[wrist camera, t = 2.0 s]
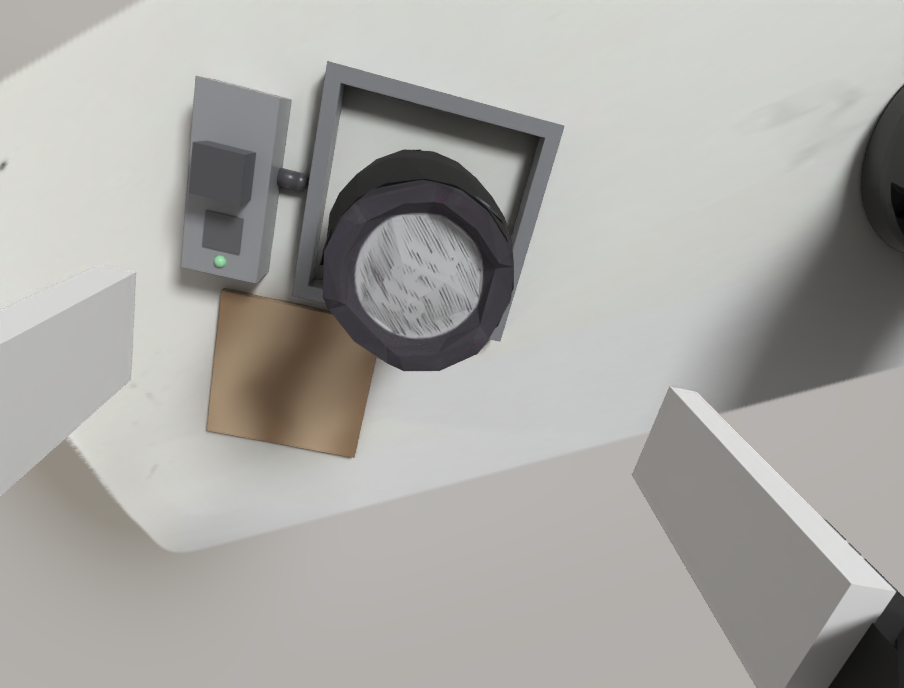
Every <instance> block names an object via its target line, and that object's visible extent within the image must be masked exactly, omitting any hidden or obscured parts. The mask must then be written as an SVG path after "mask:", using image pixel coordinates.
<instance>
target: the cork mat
mask: <svg viewBox="0 0 904 688" xmlns="http://www.w3.org/2000/svg"><path fill="white" fill-rule="evenodd" d="M375 360H376V356H375V355H374V354H372V353H371V352H369V351H368V350H366V349H365V348H363V347H362V346H360V345H358V344H357V343H355V342H354V341H353V340H352V338H351V337H350V336H349V335H348V333H347V332H346V331H345V329H344V328H343V327H342V326H341V324H340V323H339V322H338V321H337V319H336V318H335V317H334V316H333V314H332V313H331V312H330V311H326V310H321V309H317V308H312V307H307V306H303V305H298V304H294V303H289V302H284V301H280V300H275V299H271V298H266V297H261V296H257V295H252V294H247V293H243V292H238V291H234V290H229V289H223V290H222V291H221V299H220V309H219V318H218V328H217V337H216V347H215V356H214V366H213V375H212V385H211V395H210V404H209V414H208V423H207V431H212V432H218V433H223V434H228V435H234V436H239V437H245V438H250V439H255V440H261V441H266V442H272V443H277V444H283V445H288V446H293V447H299V448H304V449H310V450H315V451H320V452H326V453H331V454H337V455H342V456H347V457H353V458H354V457H355V453H356V448H357V443H358V439H359V434H360V430H361V425H362V420H363V416H364V411H365V406H366V402H367V397H368V393H369V388H370V383H371V379H372V374H373V369H374V365H375Z"/></svg>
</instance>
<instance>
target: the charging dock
mask: <svg viewBox="0 0 904 688" xmlns="http://www.w3.org/2000/svg"><path fill="white" fill-rule="evenodd" d="M345 85H348V86H352V87H356V88H360V89H363V90H367V91H371V92H374V93H378V94H382V95H386V96H389V97H393V98H397V99H400V100H404V101H408V102H412V103H415V104H419V105H423V106H426V107H430V108H434V109H438V110H441V111H445V112H449V113H452V114H456V115H460V116H464V117H467V118H471V119H475V120H479V121H482V122H486V123H490V124H493V125H497V126H501V127H505V128H508V129H512V130H516V131H519V132H523V133H527V134H531V135H534V136H538V137H540V138H539V141H538V145H537V148H536V152H535V155H534V159H533V162H532V166H531V169H530V173H529V176H528V180H527V183H526V187H525V190H524V194H523V197H522V201H521V204H520V208H519V211H518V215H517V218H516V222H515V225H514V229H513V232H512V236H511V240H512V250H513V259H514V289H513V291H512V296H511V301H510V303H509V305H508V307H507V308H506V310H505V312H504V314H503V316H502V318H501V321H500V323H499V325H498V327H496V328H495V329H494V331H493V333H492V335H491V336H490V338H489V339H491V340H495V341H501V337H502V334H503V331H504V327H505V324H506V321H507V317H508V314H509V310H510V307H511V304H512V300H513V297H514V294H515V290H516V287H517V284H518V280H519V277H520V274H521V270H522V267H523V264H524V260H525V257H526V253H527V250H528V247H529V243H530V240H531V237H532V233H533V230H534V227H535V223H536V220H537V217H538V213H539V210H540V207H541V203H542V200H543V196H544V193H545V190H546V186H547V183H548V180H549V176H550V173H551V170H552V166H553V163H554V160H555V156H556V153H557V150H558V146H559V143H560V139H561V136H562V133H563V129H564V126H563V125H559V124H556V123H552V122H548V121H545V120H541V119H537V118H534V117H530V116H526V115H523V114H519V113H515V112H512V111H508V110H504V109H501V108H497V107H494V106H490V105H486V104H483V103H479V102H475V101H472V100H468V99H464V98H461V97H457V96H453V95H450V94H446V93H442V92H439V91H435V90H431V89H428V88H424V87H420V86H417V85H413V84H409V83H406V82H402V81H398V80H395V79H391V78H387V77H384V76H380V75H376V74H373V73H369V72H365V71H362V70H358V69H354V68H351V67H347V66H343V65H340V64H336V63H332V62H329V61H327V67H326V74H325V80H324V87H323V93H322V100H321V107H320V113H319V120H318V126H317V133H316V139H315V146H314V153H313V159H312V166H311V172H310V179H309V180H308V178H307V176H306V175H305V174H303V173H300V172H296V171H292V170H288V169H284V168H280V169H279V171H278V175H277V185H278V186H282V187H286V188H290V189H294V190H298V191H302V190H305V189H306V188H307V187H308V192H307V199H306V205H305V212H304V219H303V225H302V232H301V238H300V245H299V252H298V258H297V265H296V271H295V278H294V284H293V291H292V296H294V297H298V298H303V299H308V300H312V301H317V302H321V303H325V301H324V299H323V281H322V280H317V279H313V277H314V270H315V264H316V258H317V252H318V246H319V240H320V234H321V228H322V222H323V216H324V209H325V203H326V197H327V191H328V185H329V179H330V173H331V167H332V161H333V155H334V149H335V142H336V136H337V130H338V124H339V118H340V112H341V106H342V100H343V94H344V88H345ZM308 185H309V186H308Z"/></svg>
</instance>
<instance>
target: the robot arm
mask: <svg viewBox="0 0 904 688" xmlns="http://www.w3.org/2000/svg"><path fill="white" fill-rule="evenodd" d="M862 197H863V203H864V207H865V211H866V214H867V216H868V219H869V221H870V223H871V225H872V227H873V228H874V230H875V231H876V232H877V234H878V235H879V236H880V237H881V238H882V239H883V240H884V241H885V242H886V243H887V244H889V245H890V246H891V247H893V248H894V249H896V250H898V251H900V252H902V253H904V87H903V88H902V89H901V90H900V91H899V92H898V93H897V95H896V96H895V97H894V99H893V100H892V101H891V103H890V104H889V105H888V107H887V108H886V110H885V111H884V113H883V115H882V117H881V118H880V120H879V122H878V124H877V126H876V128H875V130H874V132H873V134H872V137H871V139H870V142H869V145H868V148H867V151H866V155H865V159H864V164H863V170H862ZM135 286H136V272H134V271H130V270H125V269H120V268H116V267H111V266H106V265H102V264H100V265H98V266H96V267H93V268H91V269H89V270H87V271H84V272H82V273H80V274H78V275H76V276H73V277H71V278H69V279H67V280H65V281H62V282H60V283H58V284H56V285H53V286H51V287H49V288H47V289H45V290H42V291H40V292H38V293H36V294H33V295H31V296H29V297H27V298H25V299H22V300H20V301H18V302H16V303H14V304H11V305H9V306H7V307H5V308H2V309H0V496H1V495H2V494H3V493H5V492H6V491H7V490H8V489H9V488H10V487H11V486H12V485H14V484H15V483H16V482H17V481H18V480H19V479H20V478H21V477H22V476H24V475H25V474H26V473H27V472H28V471H29V470H30V469H32V468H33V467H34V466H35V465H36V464H37V463H38V462H39V461H40V460H41V459H43V458H44V457H45V456H46V455H47V454H48V453H49V452H51V451H52V450H53V449H54V448H55V447H56V446H57V445H58V444H60V442H62V441H63V440H64V439H65V438H66V437H67V436H68V435H70V434H71V433H72V432H73V431H74V430H75V429H76V428H77V427H79V426H80V425H81V424H82V423H83V422H84V421H85V420H86V419H88V418H89V417H90V416H91V415H92V414H93V413H94V412H95V411H96V410H98V409H99V408H100V407H101V406H102V405H103V404H104V403H105V402H107V401H108V400H109V399H110V398H111V397H112V396H113V395H114V394H116V393H117V392H118V391H119V390H120V389H121V388H122V387H123V386H124V385H126V384H127V383H128V382H129V381H130V380H131V369H132V348H133V328H134V307H135ZM632 476H633V478H634V479H635V481H636V483H637V485H638V486H639V488H640V490H641V491H642V493H643V495H644V497H645V498H646V500H647V502H648V503H649V505H650V507H651V508H652V510H653V512H654V514H655V515H656V517H657V519H658V520H659V522H660V524H661V526H662V527H663V529H664V531H665V532H666V534H667V536H668V538H669V539H670V541H671V543H672V544H673V546H674V548H675V549H676V551H677V553H678V554H679V556H680V558H681V560H682V561H683V563H684V565H685V566H686V568H687V570H688V572H689V573H690V575H691V577H692V578H693V580H694V582H695V584H696V585H697V587H698V589H699V590H700V592H701V594H702V595H703V597H704V599H705V601H706V602H707V604H708V606H709V608H710V609H711V611H712V613H713V614H714V616H715V618H716V619H717V621H718V623H719V625H720V626H721V628H722V630H723V631H724V633H725V635H726V636H727V638H728V640H729V642H730V643H731V645H732V647H733V648H734V650H735V652H736V653H737V655H738V657H739V659H740V660H741V662H742V664H743V665H744V667H745V669H746V671H747V672H748V674H749V676H750V678H751V679H752V681H753V682H754V684H755V686H756V688H904V597H903V596H902V595H901V594H900V593H899V592H898V591H897V590H896V589H895V588H894V587H893V586H892V585H891V584H890V583H889V582H888V581H887V580H886V579H885V578H884V577H883V576H882V575H881V574H880V573H879V572H878V571H877V570H876V569H875V568H874V567H873V566H872V565H871V564H870V563H869V562H868V561H867V560H866V559H863V558H862V557H861V554H860V553H859V552H858V551H857V550H856V549H855V548H854V547H853V546H852V545H851V544H850V543H847V542H846V541H845V540H846V539H845V538H844V537H843V536H842V535H841V534H840V533H839V532H838V531H837V530H836V529H835V528H834V527H833V526H832V525H831V524H830V523H829V522H828V521H827V520H825V519H824V518H823V517H821V516H820V515H819V514H818V513H817V512H816V511H815V510H814V509H813V508H812V507H811V506H810V505H809V504H808V503H807V502H806V501H805V500H804V499H803V498H802V497H801V496H800V495H799V494H798V493H797V492H796V491H795V490H794V489H793V488H792V487H791V486H790V485H789V484H788V483H787V482H786V481H785V480H784V479H783V478H782V477H781V476H780V475H779V474H778V473H777V472H776V471H775V470H774V469H773V468H772V467H771V466H770V465H769V464H768V463H767V462H766V461H765V460H764V459H763V458H762V457H761V456H760V455H759V454H758V453H757V452H756V451H755V450H754V449H753V448H752V447H751V446H750V445H749V444H748V443H747V442H746V441H745V440H744V439H743V438H742V437H741V436H740V435H739V434H738V433H737V432H736V431H735V430H734V429H733V428H732V427H731V426H730V425H729V424H728V423H727V422H726V421H725V420H724V419H723V418H722V417H721V416H720V415H719V414H718V413H717V412H716V411H715V410H714V409H713V408H712V407H711V406H710V405H709V404H708V403H707V402H706V401H705V400H704V399H703V398H702V397H701V396H700V395H699V394H698V393H697V392H694V391H689V390H684V389H680V388H675V387H669V389H668V391H667V394H666V396H665V398H664V401H663V403H662V405H661V408H660V410H659V413H658V415H657V417H656V420H655V422H654V424H653V427H652V429H651V431H650V434H649V436H648V438H647V441H646V443H645V445H644V448H643V450H642V453H641V455H640V457H639V459H638V462H637V464H636V466H635V469H634V472H633V474H632Z"/></svg>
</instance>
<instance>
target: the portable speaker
mask: <svg viewBox="0 0 904 688" xmlns="http://www.w3.org/2000/svg"><path fill="white" fill-rule="evenodd" d="M323 263H324V269H323V299H324V301H325V303H326V305H327V307H328V309H329V310H330V312H331V313H332V314H333V316H334V317H335V318H336V319H337V321H338V322H339V323H340V324H341V326H342V327H343V328H344V329H345V331H346V332H347V333H348V335H349V336H350V337H351V338H352V340H353V341H354V342H355V343H357V344H358V345H360V346H362V347H363V348H365V349H366V350H368V351H369V352H371V353H372V354H374V355H375V356H377V357H378V358H380V359H381V360H383V361H384V362H386V363H387V364H390V365H392V366H394V367H396V368H398V369H400V370H403V371H440V370H443V369H445V368H447V367H449V366H451V365H454V364H456V363H458V362H460V361H463V360H465V359H467V358H469V357H471V356H474V355H476V354H478V353H479V351H480V350H481V349H482V347H483V346H484V345H485V344H486V342H487V341H488V340H489V338H490V336H491V335H492V333H493V331H494V329H495V328H496V327H498V325H499V323H500V321H501V318H502V316H503V314H504V312H505V310H506V308H507V307H508V305H509V303H510V301H511V296H512V291H513V289H514V259H513V250H512V240H511V237H510V234H509V231H508V227H507V224H506V221H505V217H504V216H503V214H502V212H501V211H500V209H499V207H498V206H497V204H496V202H495V201H494V199H493V197H492V196H491V195H490V194H489V192H488V191H487V190H486V189H485V188H484V187H483V185H482V184H481V183H480V182H479V181H478V180H477V178H476V177H474V176H473V175H472V174H471V173H470V172H469V171H467V170H466V169H465V168H464V167H463V166H462V165H461V164H459V163H458V162H456V161H454V160H452V159H450V158H447V157H445V156H443V155H440V154H438V153H436V152H432V151H421V150H401V151H398V152H396V153H393V154H390V155H387V156H385V157H382V158H379V159H376V160H375V161H374V162H372V163H371V164H370V165H368V166H367V167H366V168H364V169H363V170H362V171H360V172H359V173H358V174H356V175H355V177H354V178H353V179H352V180H351V181H350V182H349V183H348V184H347V185H346V186H345V188H344V189H343V190H342V191H341V192H340V193H339V195H338V197H337V199H336V201H335V204H334V206H333V208H332V210H331V212H330V216H329V225H328V234H327V240H326V243H325V246H324V249H323V253H322V258H321V262H320V265H323Z"/></svg>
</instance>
